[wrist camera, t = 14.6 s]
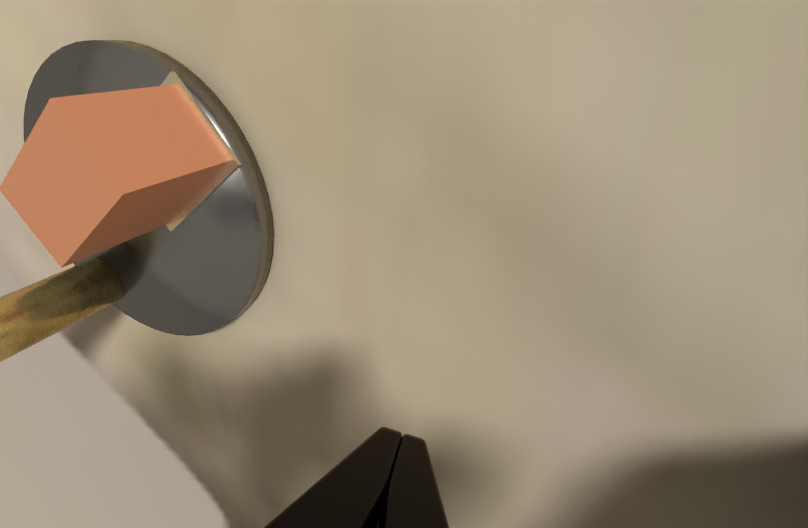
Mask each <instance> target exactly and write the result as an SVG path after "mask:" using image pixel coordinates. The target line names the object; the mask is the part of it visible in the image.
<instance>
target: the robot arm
mask: <svg viewBox="0 0 808 528" xmlns="http://www.w3.org/2000/svg"><path fill="white" fill-rule="evenodd" d="M401 439H402V440H401ZM264 528H449V526H448V522H447V518H446V515H445V511H444V508H443V504H442V500H441V497H440V493H439V489H438V486H437V482H436V478H435V475H434V471H433V467H432V464H431V460H430V456H429V453H428V449H427V445H426V443H425V441H424V440H423V439H421V438H418V437H415V436H412V435H408V434H405V435H403V437H402V434H401V432H399V431H395V430H392V429H389V428H386V427H381V428H380V429H378V430H377V431H376V432H375V433H374V434H372V435H371V436H370V437H369V438H368V439H367V440H365V441H364V442H363V443H362V444H361V445H360V446H358V447H357V448H356V449H355V450H354V451H353V452H352V453H350V454H349V455H348V456H347V457H346V458H345V459H343V460H342V461H341V462H340V463H339V464H338V465H336V466H335V467H334V468H333V469H332V470H331V471H329V472H328V473H327V474H326V475H325V476H324V477H322V478H321V479H320V480H319V481H318V482H317V483H315V484H314V485H313V486H312V487H311V488H310V489H308V490H307V491H306V492H305V493H304V494H303V495H301V496H300V497H299V498H298V499H297V500H296V501H294V502H293V503H292V504H291V505H290V506H289V507H288V508H286V509H285V510H284V511H283V512H282V513H281V514H279V515H278V516H277V517H276V518H275V519H274V520H272V521H271V522H270V523H269V524H268V525H267V526H265V527H264Z"/></svg>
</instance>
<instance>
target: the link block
mask: <svg viewBox="0 0 808 528" xmlns="http://www.w3.org/2000/svg"><path fill="white" fill-rule="evenodd" d="M229 161H230V160H229V159H228V158H227V156H226V155H225V153H224V152H223V151H222V149H221V148H220V146H219V145H218V144H217V142H216V141H215V139H214V138H213V137H212V135H211V134H210V133H209V131H208V130H207V128H206V127H205V126H204V124H203V123H202V121H201V120H200V119H199V117H198V116H197V115H196V113H195V112H194V110H193V109H192V108H191V106H190V105H189V103H188V102H187V101H186V99H185V98H184V96H183V95H182V94H181V92H180V91H179V90H178V88H177V87H176V85H175V84H174V85H165V86H156V87H147V88H137V89H128V90H119V91H110V92H101V93H92V94H83V95H74V96H65V97H55V98H50V99H49V101H48V103H47V105H46V106H45V108H44V110H43V112H42V114H41V115H40V117H39V119H38V121H37V122H36V124H35V126H34V128H33V129H32V131H31V133H30V135H29V137H28V138H27V140H26V142H25V144H24V145H23V147H22V149H21V151H20V153H19V154H18V156H17V158H16V160H15V161H14V163H13V165H12V167H11V169H10V170H9V172H8V174H7V176H6V177H5V179H4V181H3V183H2V185H1V186H0V191H1V192H2V193H3V195H4V196H5V197H6V198H7V200H8V201H9V202H10V203H11V205H12V206H13V207H14V209H15V210H16V211H17V212H18V214H19V215H20V216H21V217H22V219H23V220H24V221H25V222H26V224H27V225H28V226H29V227H30V229H31V230H32V231H33V232H34V234H35V235H36V236H37V237H38V239H39V240H40V241H41V242H42V244H43V245H44V246H45V248H46V249H47V250H48V251H49V253H50V254H51V255H52V256H53V258H54V259H55V260H56V261H57V263H58V264H59V265H60V266H61V268H62V267H64V266H67V265H69V264H72V263H74V262H77V261H79V260H81V259H84V258H86V257H89V256H91V255H94V254H96V253H99V252H101V251H103V250H106V249H108V248H111V247H113V246H116V245H118V244H121V243H123V242H125V241H128V240H130V239H133V238H135V237H138V236H140V235H142V234H145V233H147V232H150V231H152V230H155V229H157V228H160V227H162V226H164V225H166V224H167V223H168V222H169V221H170V220H171V219H172V218H173V217H174V216H175V215H176V214H177V213H178V212H179V211H180V210H181V209H182V208H183V207H184V206H185V205H186V204H187V203H188V202H189V201H190V200H191V199H192V198H193V197H194V196H195V195H196V194H197V193H198V192H199V191H200V190H201V189H202V188H203V187H204V186H205V185H206V184H207V183H208V182H209V181H210V180H211V179H212V178H213V177H214V176H215V175H216V174H217V173H218V172H219V171H220V170H221V169H222V168H223V167H224V166H225V165H226V164H227V163H228V162H229Z"/></svg>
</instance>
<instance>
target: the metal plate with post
mask: <svg viewBox="0 0 808 528" xmlns="http://www.w3.org/2000/svg"><path fill="white" fill-rule="evenodd" d="M174 84H175V85H176V87H177V88H178V90H179V91H180V92H181V94H182V95H183V96H184V98H185V99H186V101H187V102H188V103H189V105H190V106H191V108H192V109H193V110H194V112H195V113H196V115H197V116H198V117H199V119H200V120H201V121H202V123H203V124H204V126H205V127H206V128H207V130H208V131H209V133H210V134H211V135H212V137H213V138H214V139H215V141H216V142H217V144H218V145H219V146H220V148H221V149H222V151H223V152H224V153H225V155H226V156H227V158H228V159H229V160H230V161H229V162H228V163H227V164H226V165H225V166H224V167H223V168H222V169H221V170H220V171H219V172H218V173H217V174H216V175H215V176H214V177H213V178H212V179H211V180H210V181H209V182H208V183H207V184H206V185H205V186H204V187H203V188H202V189H201V190H200V191H199V192H198V193H197V194H196V195H195V196H194V197H193V198H192V199H191V200H190V201H189V202H188V203H187V204H186V205H185V206H184V207H183V208H182V209H181V210H180V211H179V212H178V213H177V214H176V215H175V216H174V217H173V218H172V219H171V220H170V221H169V222H168V223H167V224H166V225H164V226H162V227H160V228H157V229H155V230H152V231H150V232H147V233H145V234H142V235H140V236H138V237H135V238H133V239H130V240H128V241H125V242H123V243H121V244H118V245H116V246H113V247H111V248H108V249H106V250H103V251H101V252H99V253H96V254H94V255H91V256H89V257H86V258H84V259H81V260H79V261H77V262H74V265H75V266H74V267H72V268H69V269H67V270H64V271H62V272H60V273H57V274H55V275H52V276H50V277H48V278H45V279H43V280H40V281H38V282H36V283H33V284H31V285H28V286H26V287H24V288H21V289H19V290H16V291H14V292H12V293H10V294H7V295H4V296H2V297H0V362H1V361H3V360H5V359H7V358H9V357H11V356H13V355H14V354H16V353H18V352H20V351H22V350H24V349H26V348H28V347H30V346H32V345H34V344H36V343H38V342H39V341H41V340H43V339H45V338H47V337H49V336H51V335H53V334H55V333H57V332H59V331H61V330H63V329H65V328H67V327H68V326H70V325H72V324H74V323H76V322H78V321H80V320H82V319H84V318H86V317H88V316H90V315H92V314H94V313H95V312H97V311H99V310H101V309H103V308H105V307H107V306H109V305H111V304H113V305H114V306H116V307H117V308H118V309H120V310H121V311H122V312H124V313H125V314H127V315H128V316H130V317H132V318H133V319H135V320H137V321H138V322H140V323H142V324H144V325H147V326H149V327H151V328H153V329H156V330H159V331H162V332H165V333H170V334H175V335H187V336H192V335H201V334H205V333H208V332H212V331H214V330H216V329H218V328H220V327H222V326H224V325H225V324H227V323H228V322H229V321H231V320H232V319H234V318H235V317H236V316H238V315H239V314H240V313H242V312H243V311H244V310H245V309H246V308H248V307H249V306H250V305H251V304H252V302H253V301H254V300H255V299H256V297H257V296H258V294H259V293H260V291H261V289H262V287H263V285H264V283H265V280H266V278H267V275H268V272H269V268H270V263H271V258H272V250H273V225H272V214H271V208H270V203H269V197H268V193H267V190H266V186H265V183H264V179H263V176H262V173H261V171H260V168H259V166H258V163H257V161H256V158H255V156H254V153H253V151H252V149H251V147H250V145H249V144H248V142H247V140H246V138H245V136H244V134H243V132H242V130H241V129H240V127H239V126H238V124H237V123H236V121H235V120H234V118H233V117H232V115H231V113H230V112H229V111H228V110H227V108H226V107H225V106H224V104H223V103H222V102H221V101H220V99H219V98H218V97H217V96H216V94H215V93H214V92H213V91H212V90H211V89H210V88H209V87H208V86H207V85H206V84H205V83H204V82H203V81H202V80H201V79H200V78H199V77H197V76H196V75H195V74H194V73H193V72H191V71H190V70H189V69H188V68H187V67H185V66H184V65H183V64H181V63H180V62H178V61H176V60H175V59H173V58H172V57H170V56H169V55H167V54H165V53H163V52H161V51H158V50H156V49H154V48H152V47H150V46H146V45H143V44H139V43H136V42H131V41H120V40H91V41H82V42H75V43H72V44H70V45H67V46H64V47H62V48H60V49H59V50H57V51H56V52H54V53H53V54H51V55H50V56H49V57H48V58H47V59H46V60H45V61H44V63H43V64H42V65H41V66H40V68H39V70H38V71H37V73H36V74H35V76H34V78H33V81H32V83H31V86H30V88H29V91H28V95H27V100H26V104H25V112H24V143H25V142H26V140H27V138H28V137H29V135H30V133H31V131H32V129H33V128H34V126H35V124H36V122H37V121H38V119H39V117H40V115H41V114H42V112H43V110H44V108H45V106H46V105H47V103H48V101H49V99H50V98H55V97H65V96H74V95H83V94H92V93H101V92H110V91H119V90H128V89H137V88H147V87H156V86H165V85H174Z"/></svg>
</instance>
